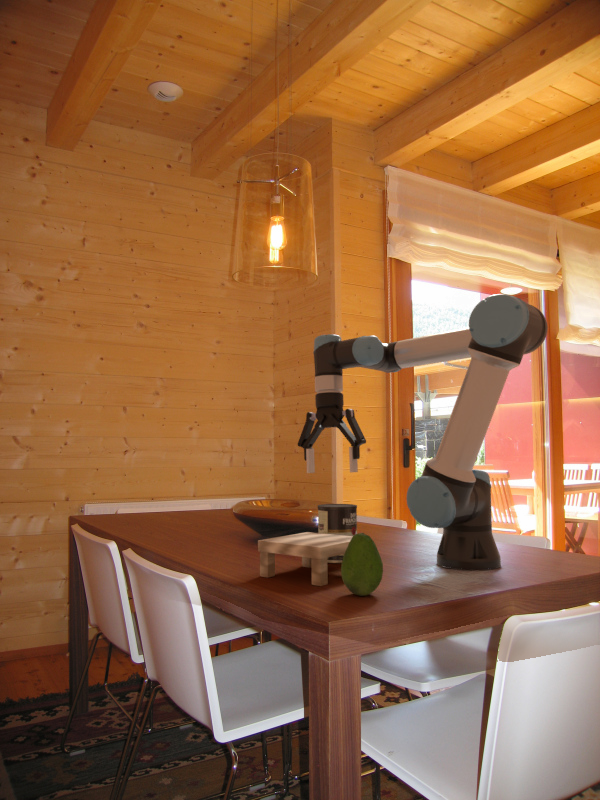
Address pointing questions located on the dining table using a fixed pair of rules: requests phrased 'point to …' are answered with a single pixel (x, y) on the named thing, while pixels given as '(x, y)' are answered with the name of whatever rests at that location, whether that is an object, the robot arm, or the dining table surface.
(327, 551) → the footstool
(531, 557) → the dining table surface
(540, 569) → the dining table surface
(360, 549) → the fruit
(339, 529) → the coffee can
